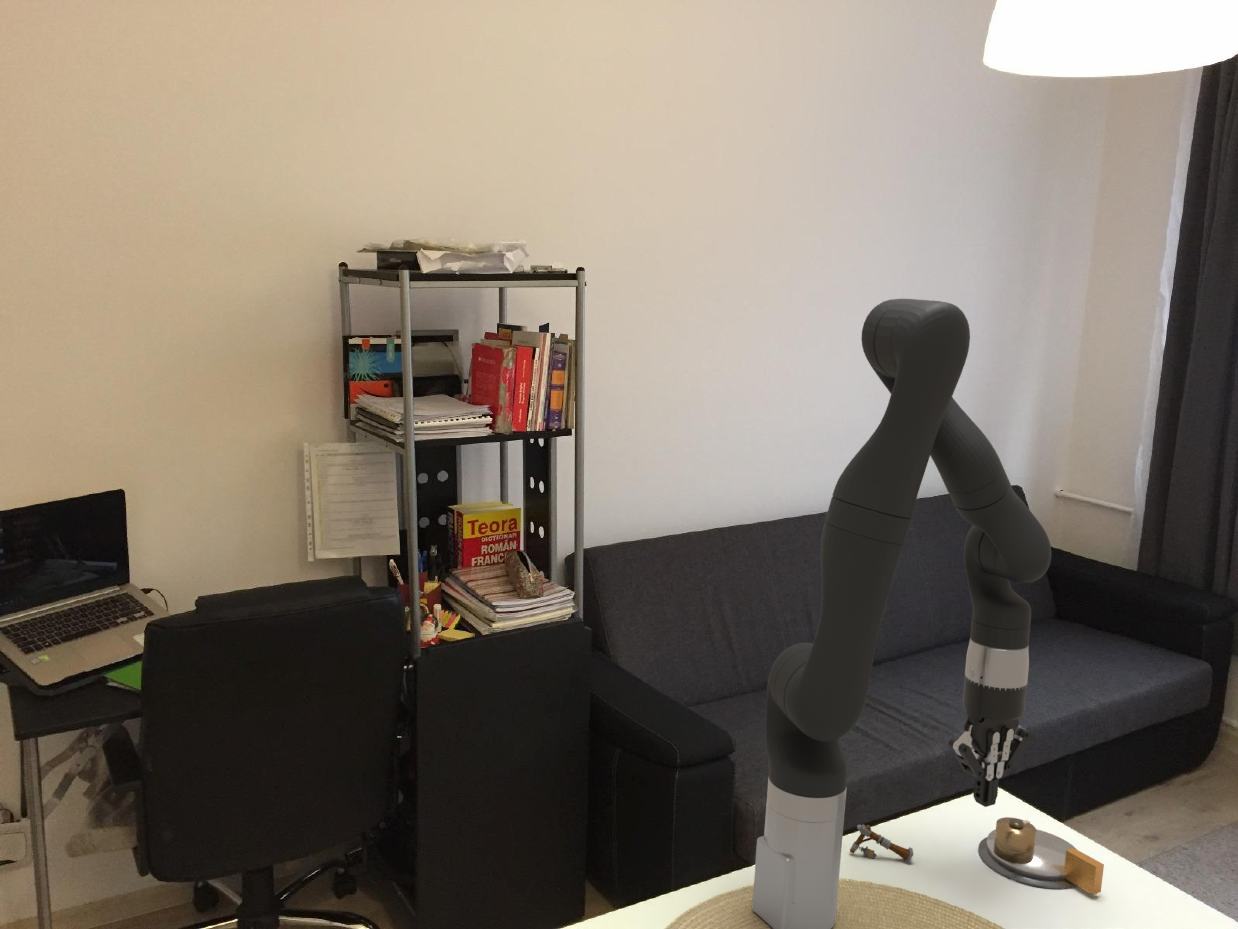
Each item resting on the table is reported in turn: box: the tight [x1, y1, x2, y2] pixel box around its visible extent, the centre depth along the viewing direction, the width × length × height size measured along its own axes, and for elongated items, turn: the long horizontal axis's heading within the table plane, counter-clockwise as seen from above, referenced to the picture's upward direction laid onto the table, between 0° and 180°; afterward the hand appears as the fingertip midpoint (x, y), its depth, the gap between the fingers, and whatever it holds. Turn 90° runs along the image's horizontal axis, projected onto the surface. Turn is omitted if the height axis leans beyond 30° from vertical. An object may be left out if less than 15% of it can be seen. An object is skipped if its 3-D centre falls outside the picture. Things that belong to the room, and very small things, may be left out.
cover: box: [994, 817, 1037, 864], centre depth 140 cm, size 5×5×5 cm
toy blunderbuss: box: [849, 823, 915, 865], centre depth 141 cm, size 2×8×4 cm, turn 82°
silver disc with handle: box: [986, 828, 1105, 895], centre depth 140 cm, size 16×12×4 cm
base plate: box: [977, 836, 1078, 890], centre depth 142 cm, size 14×14×1 cm
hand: (984, 803), depth 135 cm, fingers closed
